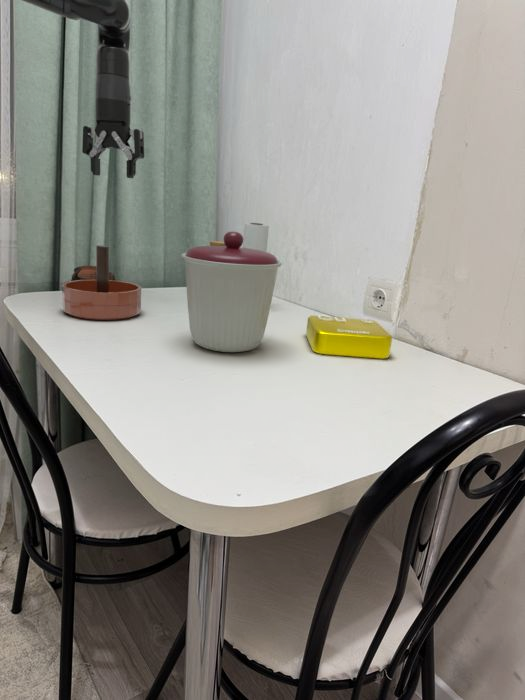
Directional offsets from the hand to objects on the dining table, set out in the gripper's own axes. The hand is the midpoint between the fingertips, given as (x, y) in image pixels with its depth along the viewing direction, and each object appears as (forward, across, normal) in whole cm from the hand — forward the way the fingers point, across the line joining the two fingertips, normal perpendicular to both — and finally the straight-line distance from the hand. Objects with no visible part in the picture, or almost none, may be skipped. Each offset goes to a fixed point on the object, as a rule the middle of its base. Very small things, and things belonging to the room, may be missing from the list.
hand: (113, 176), depth 117 cm
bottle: (+30, +18, +24) cm, 42 cm away
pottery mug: (+29, -8, +5) cm, 31 cm away
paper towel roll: (+30, +32, +15) cm, 46 cm away
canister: (+30, +36, -24) cm, 53 cm away
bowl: (+29, +4, -13) cm, 32 cm away
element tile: (+30, +58, -12) cm, 66 cm away
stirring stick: (+29, +4, -13) cm, 32 cm away
